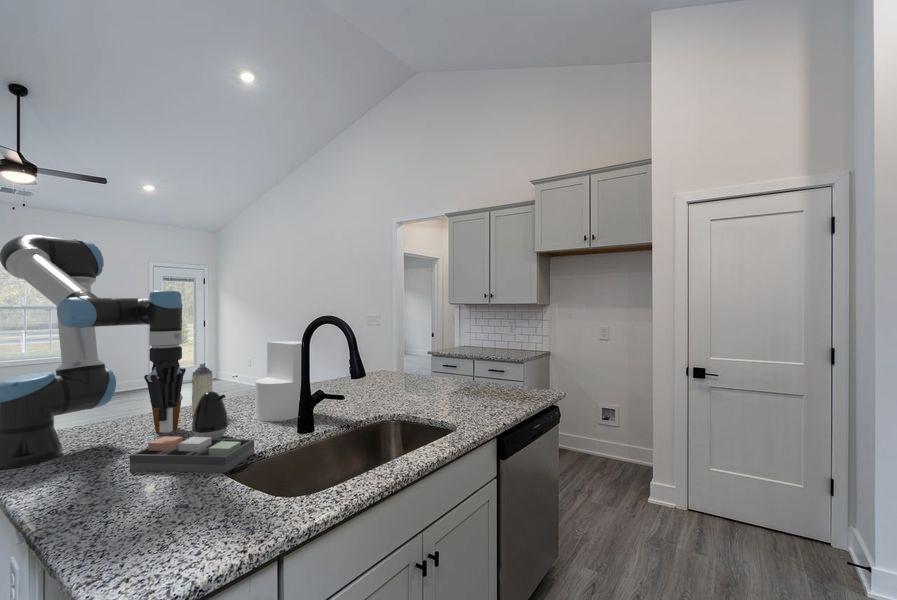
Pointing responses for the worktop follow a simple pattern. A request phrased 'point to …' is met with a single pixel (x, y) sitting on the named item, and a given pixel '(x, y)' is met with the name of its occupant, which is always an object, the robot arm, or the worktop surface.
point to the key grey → (194, 444)
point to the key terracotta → (164, 443)
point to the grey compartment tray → (191, 458)
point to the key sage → (223, 448)
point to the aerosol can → (200, 384)
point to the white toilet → (279, 383)
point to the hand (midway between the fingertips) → (166, 431)
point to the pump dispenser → (210, 416)
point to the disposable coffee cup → (175, 416)
